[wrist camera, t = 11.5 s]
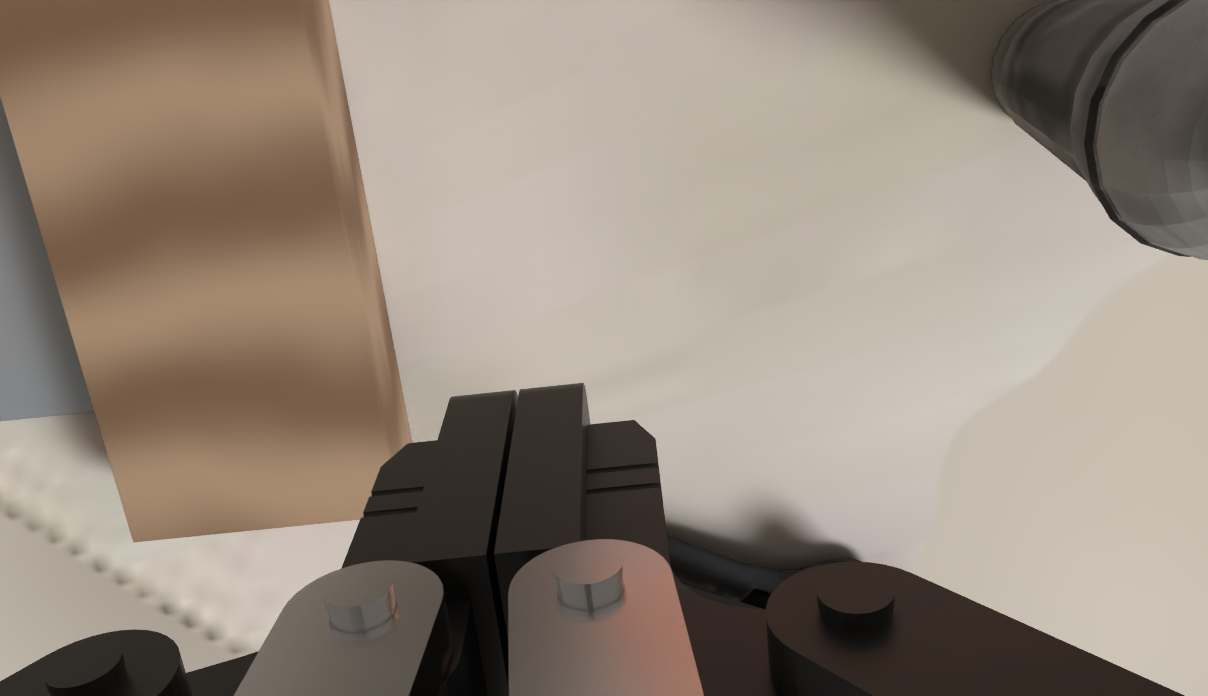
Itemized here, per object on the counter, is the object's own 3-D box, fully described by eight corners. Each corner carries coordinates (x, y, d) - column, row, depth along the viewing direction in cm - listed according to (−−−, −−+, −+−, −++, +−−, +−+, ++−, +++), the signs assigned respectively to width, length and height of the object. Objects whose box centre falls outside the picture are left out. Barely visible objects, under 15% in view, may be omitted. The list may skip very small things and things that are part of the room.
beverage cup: (984, -60, 38) (1359, -37, 19) (1188, -25, 39) (1748, 30, 20) (928, 152, 41) (1213, 352, 22) (1121, 182, 41) (1561, 403, 22)
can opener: (937, 568, 47) (980, 649, 42) (865, 696, 50) (898, 788, 44) (540, 434, 45) (533, 502, 40) (484, 575, 47) (470, 657, 42)
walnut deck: (-10, -157, 37) (-78, -165, 33) (292, -193, 36) (257, -206, 33) (171, 490, 45) (133, 542, 42) (416, 465, 45) (400, 515, 41)
